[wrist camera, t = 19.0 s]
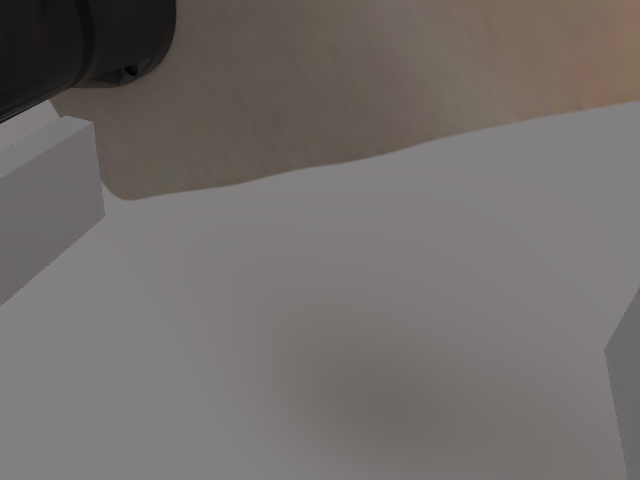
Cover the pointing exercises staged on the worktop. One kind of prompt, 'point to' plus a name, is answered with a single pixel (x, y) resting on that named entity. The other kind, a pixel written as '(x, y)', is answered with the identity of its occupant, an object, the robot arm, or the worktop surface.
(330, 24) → the worktop surface
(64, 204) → the robot arm
